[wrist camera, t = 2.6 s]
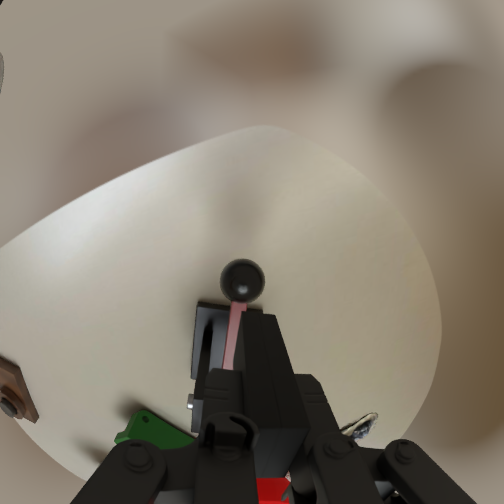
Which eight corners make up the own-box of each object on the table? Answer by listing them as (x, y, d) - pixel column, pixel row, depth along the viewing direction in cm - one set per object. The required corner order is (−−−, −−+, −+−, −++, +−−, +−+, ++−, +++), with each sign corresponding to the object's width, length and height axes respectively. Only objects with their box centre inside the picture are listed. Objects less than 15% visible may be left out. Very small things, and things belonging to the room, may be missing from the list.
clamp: (141, 405, 37) (104, 431, 29) (159, 396, 35) (118, 426, 26) (187, 458, 35) (156, 489, 27) (209, 454, 33) (177, 490, 25)
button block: (-8, 353, 29) (-19, 363, 25) (19, 367, 30) (8, 380, 26) (12, 402, 32) (3, 413, 28) (39, 416, 33) (31, 429, 29)
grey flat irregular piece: (329, 438, 36) (332, 446, 34) (363, 408, 35) (367, 416, 33) (353, 443, 38) (357, 451, 36) (385, 416, 36) (390, 423, 34)
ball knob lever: (223, 253, 21) (222, 258, 18) (265, 259, 21) (272, 265, 18) (204, 404, 22) (202, 426, 19) (239, 408, 22) (241, 430, 19)
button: (0, 394, 27) (-4, 399, 25) (13, 402, 27) (9, 407, 26) (7, 407, 28) (3, 412, 26) (19, 414, 28) (15, 420, 26)
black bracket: (198, 301, 29) (180, 369, 17) (262, 309, 29) (280, 379, 18) (191, 373, 31) (179, 447, 19) (247, 379, 32) (255, 454, 20)
